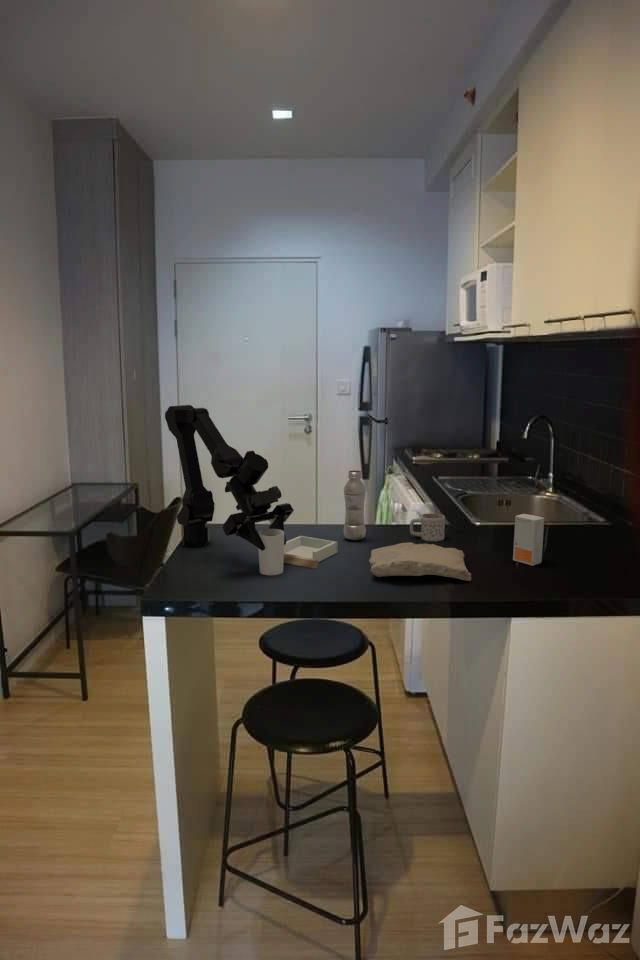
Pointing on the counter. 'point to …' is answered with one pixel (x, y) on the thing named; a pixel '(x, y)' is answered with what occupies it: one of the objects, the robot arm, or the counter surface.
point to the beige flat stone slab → (418, 561)
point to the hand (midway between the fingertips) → (274, 547)
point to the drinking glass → (271, 552)
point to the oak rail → (300, 561)
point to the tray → (311, 547)
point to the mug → (430, 527)
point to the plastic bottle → (354, 507)
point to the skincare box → (528, 539)
